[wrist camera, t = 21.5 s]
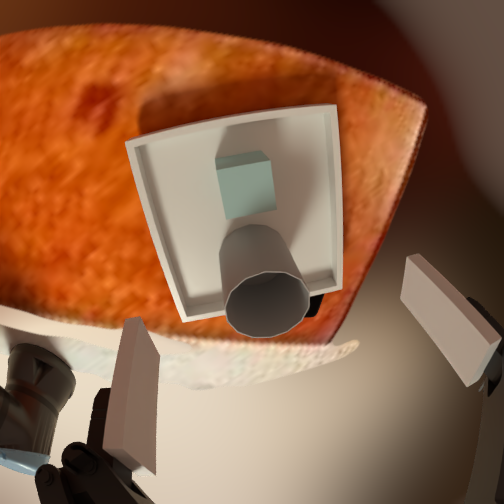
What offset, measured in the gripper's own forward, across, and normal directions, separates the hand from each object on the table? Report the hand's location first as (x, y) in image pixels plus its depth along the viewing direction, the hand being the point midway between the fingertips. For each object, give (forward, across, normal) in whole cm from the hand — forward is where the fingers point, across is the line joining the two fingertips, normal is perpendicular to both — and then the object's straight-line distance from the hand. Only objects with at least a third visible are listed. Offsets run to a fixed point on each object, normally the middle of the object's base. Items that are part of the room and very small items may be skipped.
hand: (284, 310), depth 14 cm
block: (+22, +1, 0) cm, 22 cm away
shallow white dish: (+24, +1, -5) cm, 25 cm away
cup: (+22, +1, -10) cm, 24 cm away
